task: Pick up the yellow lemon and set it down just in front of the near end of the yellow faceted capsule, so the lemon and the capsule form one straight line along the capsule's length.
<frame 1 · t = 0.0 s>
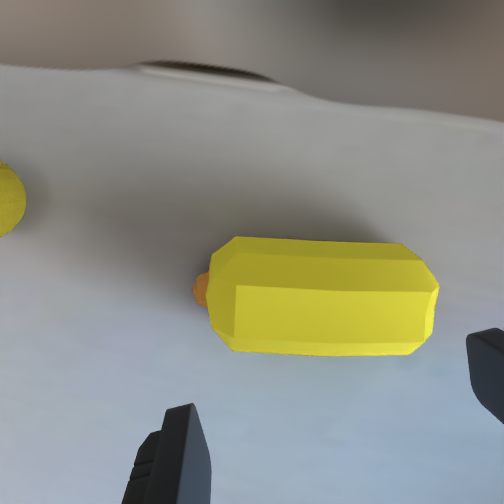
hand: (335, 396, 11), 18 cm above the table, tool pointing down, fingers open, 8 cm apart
lemon: (8, 194, 26), on the table
yellow faceted capsule: (310, 284, 29), on the table
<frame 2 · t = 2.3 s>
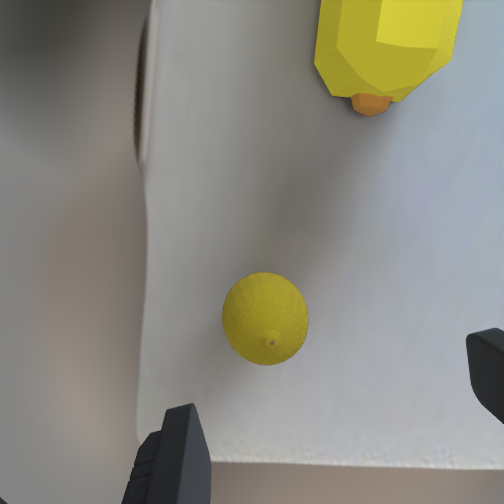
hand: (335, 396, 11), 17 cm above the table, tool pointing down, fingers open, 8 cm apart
lemon: (259, 295, 28), on the table
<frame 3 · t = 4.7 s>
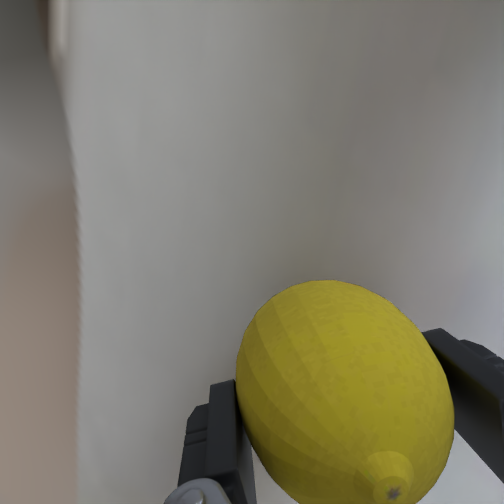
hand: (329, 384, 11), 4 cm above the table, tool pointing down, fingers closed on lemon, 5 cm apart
lemon: (302, 323, 15), on the table, touching gripper
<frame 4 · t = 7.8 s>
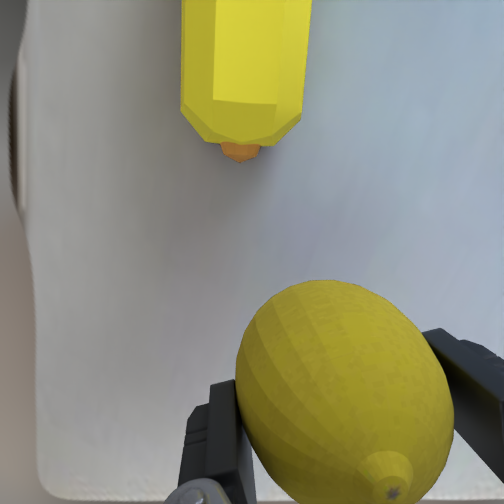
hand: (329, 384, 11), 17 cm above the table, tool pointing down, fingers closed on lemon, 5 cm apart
lemon: (302, 323, 15), point 13 cm above the table, touching gripper
yellow faceted capsule: (244, 23, 25), on the table
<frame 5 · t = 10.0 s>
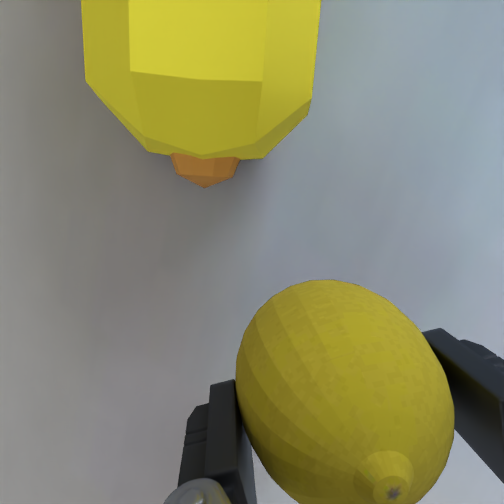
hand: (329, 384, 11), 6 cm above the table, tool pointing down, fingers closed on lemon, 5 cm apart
lemon: (302, 322, 15), point 3 cm above the table, touching gripper
when the fingers open (4 cm above the table, at t = 11.3 s): lemon stays where it is, on the table.
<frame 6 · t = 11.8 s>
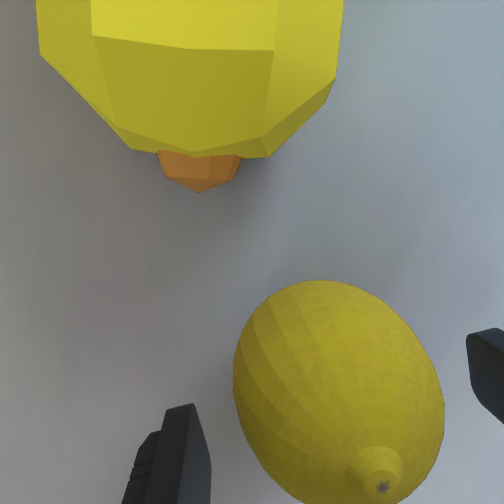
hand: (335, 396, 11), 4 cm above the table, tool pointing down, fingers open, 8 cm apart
lemon: (299, 322, 15), on the table
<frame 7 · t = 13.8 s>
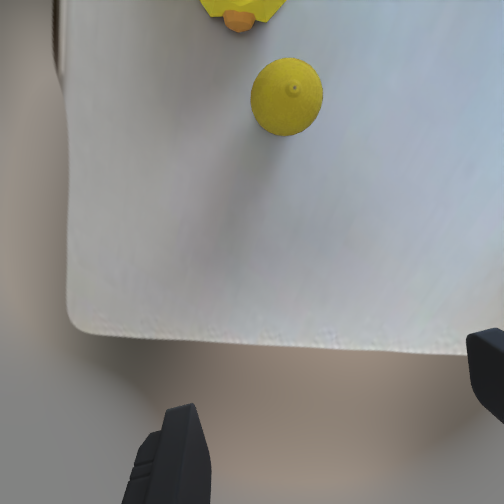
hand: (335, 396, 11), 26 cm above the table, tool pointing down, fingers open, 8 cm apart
lemon: (279, 107, 33), on the table
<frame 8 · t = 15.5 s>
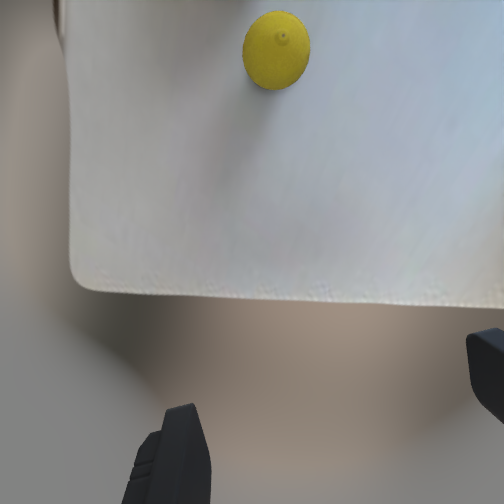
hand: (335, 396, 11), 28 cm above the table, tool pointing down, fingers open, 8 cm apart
lemon: (270, 67, 35), on the table
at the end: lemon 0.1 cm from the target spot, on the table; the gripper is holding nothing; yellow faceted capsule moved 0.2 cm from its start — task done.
